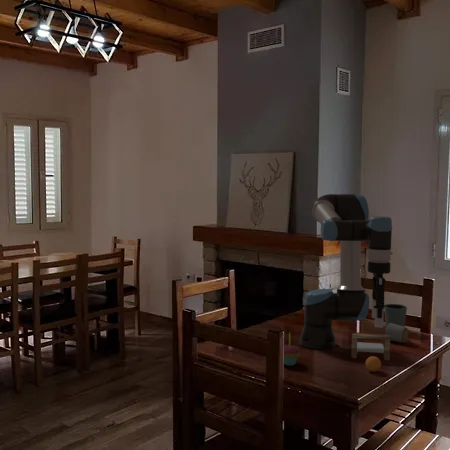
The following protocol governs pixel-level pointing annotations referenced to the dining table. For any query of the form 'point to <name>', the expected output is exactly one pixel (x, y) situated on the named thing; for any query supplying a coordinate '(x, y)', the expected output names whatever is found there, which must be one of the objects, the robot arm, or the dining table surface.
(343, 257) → the robot arm
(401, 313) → the grey green cup
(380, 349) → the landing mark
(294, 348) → the cupcake
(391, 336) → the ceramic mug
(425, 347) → the dining table surface
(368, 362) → the ball
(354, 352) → the bridge
